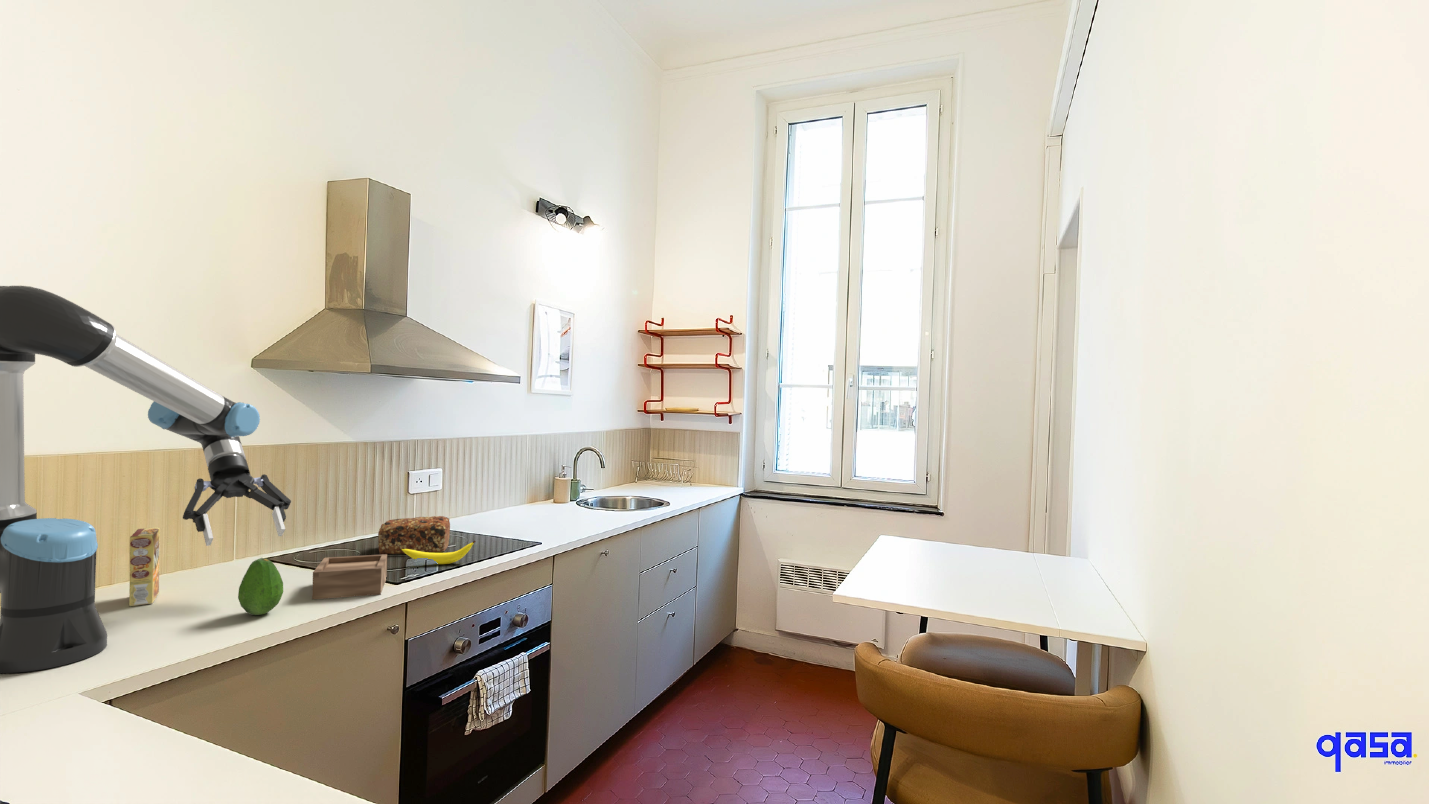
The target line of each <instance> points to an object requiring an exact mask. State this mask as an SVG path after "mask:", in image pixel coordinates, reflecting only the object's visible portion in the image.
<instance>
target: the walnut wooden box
mask: <svg viewBox="0 0 1429 804" xmlns="http://www.w3.org/2000/svg"><path fill="white" fill-rule="evenodd" d="M387 575H388V554H371V555H370V554H369V555H350V556H349V555H348V556H330V557H324V558H322V561H320V563H319V564H318V565H317V567H316V568H315V569H314V570H313V571H312V589H311V590H312V593H311V594H312V597H311V598H312V600H324V599H325V600H326V599H336V598H349V597H350V598H351V597H353V598H354V597H365V596H379V595H381V594H382V592H383V589H384V587H385V585H386V581H387V579H386V577H388V576H387Z"/></svg>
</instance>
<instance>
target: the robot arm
mask: <svg viewBox="0 0 1429 804" xmlns="http://www.w3.org/2000/svg"><path fill="white" fill-rule="evenodd" d="M36 355H40V356H41V355H42V356H44V357H50V358H53V359H56V360H59V361H60V362H63V363H64V364H67V365H69V366H71V367H75V368H76V367H86V368H88V369H90V370H92V371H93V372H96V373H98V374H99V375H102V376H103V377H106V378H108V379H109V380H112V381H113V382H115V383H117V384H119V385H121V386H123V387H126V388H127V389H129V390H131V391H133V392H135V393H137V394H138V395H141V396H143V397H144V398H147V399H149V400H151V401H152V402H151V404H150V407H149V409H148V411H147V418H148V420H149V422H150V423H152V424H153V425H156V426H157V427H159V428H161V429H163V430H167V431H169V432H171V433H175V434H177V435H178V436H179V435H180V436H182V437H185V438H187V439H189V440H192V441H194V442H197V443H199V444H201V447H202V450H203V455H204V458H205V459H204V460H205V463H206V467H207V471H208V475H209V479H210V480H204V479H203V478H198V479H196V482H195V485H194V492H193V494H192V496H191V498H190V499H189V502H188V503H187V505H186V508H185V510H184V512H183V515H182V520H185V521H186V520H192V523H194V524H195V528H196V531H197V532H198V533H199V532H202V533H203V534H202V535H203V538H204V543H205V547H206V546H207V547H209V546H211V545H212V543H213V540H214V536H213V535H214V534H213V531H212V527H211V523H210V519H209V515H208V512H209V511H210V510H211V509H212V508H213V506H214V505H216V503H218V502H219V501H220V500H221V499H222V498H223V497H225V498H226V499H231V498H243V496H244V497H246V498H248V499H252V500H254V501H255V502H258V503H259V504H261V505H263V506H264V507H267V508H268V509H270V510H272V513H271V516H272V520H273V522H274V526H275V529H276V533H277V536H278V537H283V536H284V533H285V532H286V526H285V524H284V523H285V522H286V518H287V515H286V512H285V510H288V509H289V507H290V505H291V503H292V500H291V499H290V498H289V497H288V496H287V495H285V493H283V492H282V491H281V490H280V489H279V488H278V487H276V486H275V485H274V484H273V483H272V481H270V479H269V476H268V475H267V474H261V476H260V477H253V476H252V475H251V472H250V468H249V464H248V461H247V459H246V454H245V451H244V448H243V445H242V442H241V438H240V437H246V436H251V435H252V434H254V433H255V432H256V431H257V429H258V427H259V425H260V422H261V421H260V420H261V419H260V412H259V411H258V409H257V407H256V406H254V405H253V404H250V403H244V402H241V401H239V402H234V401H233V400H231V399H229V398H227V397H225V396H223V395H222V394H220V393H219V392H216V391H214V390H213V389H211V388H210V387H208V386H206V385H205V384H203V383H201V382H200V381H198V380H196V379H194V378H193V377H190V376H189V375H188V374H186V373H184V372H183V371H181V370H179V369H178V368H175V367H174V366H172V365H171V364H168V363H166V362H165V361H163V360H162V359H160V358H158V357H157V356H155V355H153V354H151V353H150V352H148V351H146V350H145V349H143V348H142V347H139V346H138V345H136V344H134V343H133V342H130V341H129V340H127V339H126V338H124V337H123V336H121V335H119V334H117V333H116V328H115V326H114V325H113V324H111V323H110V322H108V321H106V320H104V319H103V318H102V317H99V316H98V315H97V314H95V313H93V312H91V311H89V310H88V309H85V308H84V307H82V306H81V305H78V304H77V303H75V302H73V301H70V300H69V299H66V298H65V297H62V296H60V295H58V294H55V293H53V292H50V291H48V290H45V289H42V288H37V287H34V286H28V285H0V674H12V673H13V674H16V673H28V672H34V671H40V670H46V669H51V668H57V667H60V666H64V665H68V664H72V663H75V662H78V661H82V660H86V659H88V658H90V657H93V656H95V655H97V654H99V653H100V652H102V651H104V650H105V649H107V646H108V633H107V630H106V627H105V625H104V622H103V621H102V618H101V616H100V614H99V612H98V609H97V607H96V578H97V575H96V574H97V573H96V572H97V570H96V569H97V549H98V548H99V544H98V540H97V531H96V528H95V527H94V526H93V524H90V523H89V522H87V521H84V520H81V519H80V520H79V519H73V518H63V517H62V518H56V517H47V518H45V517H43V518H42V517H41V518H38V514H37V513H38V512H37V509H36V508H35V507H33V506H31V505H29V504H28V503H27V502H26V497H25V493H26V492H25V490H26V486H25V484H26V483H25V482H26V481H25V478H26V477H25V419H24V418H25V413H24V412H25V411H24V410H25V408H24V407H25V406H24V405H25V403H24V402H25V401H24V400H25V399H24V397H25V396H24V374H25V371H27V370H29V369H30V368H31V367H33V366H34V365H35V364H36ZM208 488H210V489H211V490H212V491H214V492H212V494H211V495H210V496H209V497H208V498H207V499H206V500H205V501H204V502H203V503H202V504H201V506H200V507H199V508H198V509H197V510H195V507H196V506H197V504H198V501H200V498H201V495H202V494H203V492H204V491H207V489H208ZM259 488H261V489H259Z"/></svg>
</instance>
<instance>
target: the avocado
mask: <svg viewBox="0 0 1429 804" xmlns="http://www.w3.org/2000/svg"><path fill="white" fill-rule="evenodd" d="M283 594H284V582H283V579H282V576H281V573H280V571H279V570H278V569H277V566H276V565H275V563H274V562H273V561H271V560H270V559H268V558H265V557H260V558H258V559H255V560H254V561H252V562H251V563H250V565H249V566H248V568H247V569H246V572H245V574H244V576H243V577H242V579H241V582H240V584H239V587H238V594H237V600H238V602H239V605H240V607H241V608H242V609H243V610H244V611H245V612H246V613H247V614H249V615H251V616H260V615H261V616H262V615H266V614H267V613H269V612H271V611H272V610H273V609H274V608H275V607H277V606H278V604H279V602H281V600H282V596H283Z"/></svg>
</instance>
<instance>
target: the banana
mask: <svg viewBox="0 0 1429 804" xmlns="http://www.w3.org/2000/svg"><path fill="white" fill-rule="evenodd" d="M475 543H476V540H473V541H472V542H470V543H468V544H466V545H465V546H463V547H461V548H460V549H458V550H456V551H451V552H449V551H448V552H435V553H434V552H433V553H429V552H421V551H416V550H410V549H402V551H403V552H404V553H405V554H406V555H407V556H408V557H410V558H411V559H413V560H415V559H417V558H428V559H433V560H434V561H436V562H437V563H438V564H437V565H449V564H450V565H451V564H453V563H456V562H458V561H461V559H462V558H464V557H465V556H466V555H467V554H468V552H469V551H470V550H471V549H472V547H473V545H474V544H475Z"/></svg>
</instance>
